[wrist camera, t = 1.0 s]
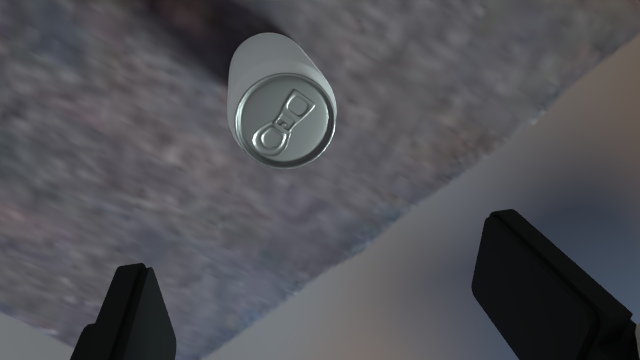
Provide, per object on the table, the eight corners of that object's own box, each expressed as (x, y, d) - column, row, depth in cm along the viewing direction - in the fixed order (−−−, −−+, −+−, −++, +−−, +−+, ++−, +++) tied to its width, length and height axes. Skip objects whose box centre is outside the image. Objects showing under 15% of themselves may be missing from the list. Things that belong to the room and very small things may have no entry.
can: (213, 81, 31) (201, 137, 21) (260, 12, 29) (274, 37, 19) (277, 125, 34) (296, 194, 24) (324, 65, 32) (366, 111, 22)
